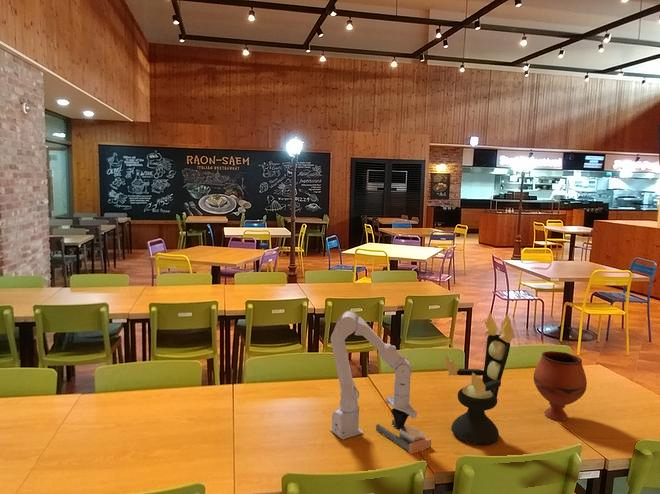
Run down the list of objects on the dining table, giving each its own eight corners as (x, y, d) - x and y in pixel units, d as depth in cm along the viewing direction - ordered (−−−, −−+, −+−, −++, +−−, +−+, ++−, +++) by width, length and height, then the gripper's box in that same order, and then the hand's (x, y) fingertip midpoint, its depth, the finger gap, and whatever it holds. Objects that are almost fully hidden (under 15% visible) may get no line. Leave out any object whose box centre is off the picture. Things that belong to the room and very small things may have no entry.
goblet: (589, 430, 194) (595, 367, 190) (535, 424, 197) (540, 362, 194) (575, 409, 212) (581, 351, 209) (526, 403, 216) (531, 346, 213)
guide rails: (411, 454, 173) (412, 445, 172) (376, 429, 189) (376, 422, 188) (430, 447, 177) (431, 439, 177) (394, 424, 194) (394, 416, 193)
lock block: (413, 450, 175) (413, 436, 175) (399, 441, 181) (399, 428, 180) (423, 446, 178) (424, 433, 177) (409, 438, 184) (410, 425, 183)
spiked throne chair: (438, 426, 193) (445, 309, 188) (487, 418, 201) (495, 306, 196) (468, 451, 176) (477, 323, 170) (520, 441, 184) (530, 319, 178)
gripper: (424, 398, 178) (421, 434, 180) (397, 383, 191) (395, 418, 192) (408, 402, 175) (406, 439, 176) (382, 387, 187) (380, 422, 188)
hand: (399, 429), depth 184 cm, fingers closed
